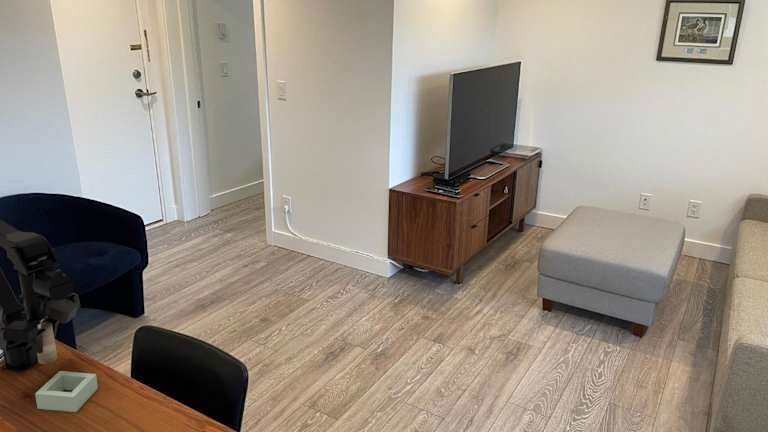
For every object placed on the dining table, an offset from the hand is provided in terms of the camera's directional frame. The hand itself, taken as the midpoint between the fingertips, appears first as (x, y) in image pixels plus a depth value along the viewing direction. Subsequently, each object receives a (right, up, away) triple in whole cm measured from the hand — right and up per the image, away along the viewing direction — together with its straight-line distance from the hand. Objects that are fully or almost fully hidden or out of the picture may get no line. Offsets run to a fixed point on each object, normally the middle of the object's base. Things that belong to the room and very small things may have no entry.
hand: (45, 348), depth 139 cm
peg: (0, -3, +1) cm, 3 cm away
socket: (+8, -11, -5) cm, 14 cm away
